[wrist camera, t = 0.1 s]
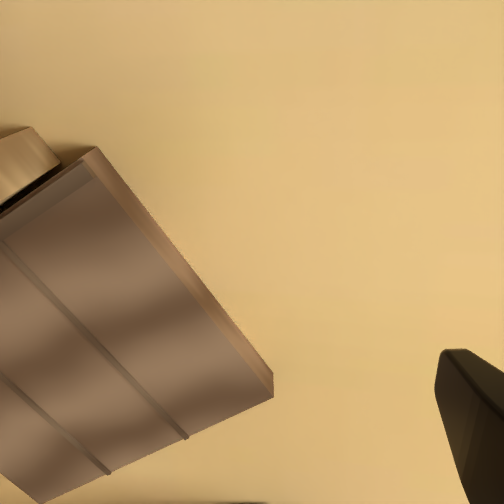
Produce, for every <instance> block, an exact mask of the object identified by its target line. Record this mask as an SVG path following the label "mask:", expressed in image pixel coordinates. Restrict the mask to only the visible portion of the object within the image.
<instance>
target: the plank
mask: <svg viewBox="0 0 504 504" xmlns="http://www.w3.org/2000/svg"><path fill="white" fill-rule="evenodd" d="M60 163H61V162H60V161H59V159H58V158H57V157H56V156H55V155H54V153H53V152H52V151H51V150H50V149H49V147H48V146H47V145H46V144H45V142H44V141H43V140H42V139H41V138H40V136H39V135H38V134H37V133H36V132H35V130H34V129H33V128H32V127H29V128H27V129H24V130H22V131H19V132H17V133H14V134H11V135H9V136H6V137H4V138H1V139H0V206H1V205H2V204H4V203H5V202H6V201H8V200H9V199H11V198H12V197H14V196H15V195H16V194H18V193H19V192H21V191H22V190H23V189H25V188H26V187H28V186H29V185H30V184H32V183H33V182H35V181H36V180H37V179H39V178H40V177H42V176H43V175H44V174H46V173H47V172H49V171H50V170H51V169H53V168H54V167H56V166H57V165H59V164H60Z"/></svg>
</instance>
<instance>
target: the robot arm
mask: <svg viewBox="0 0 504 504" xmlns="http://www.w3.org/2000/svg"><path fill="white" fill-rule="evenodd" d="M434 390H435V397H436V401H437V404H438V408H439V411H440V414H441V418H442V421H443V424H444V428H445V431H446V435H447V438H448V441H449V445H450V448H451V451H452V455H453V458H454V461H455V465H456V468H457V471H458V474H459V477H460V480H461V483H462V486H463V488H464V491H465V493H466V496H467V498H468V501H469V503H470V504H504V372H502V371H501V370H499V369H497V368H496V367H494V366H493V365H491V364H490V363H488V362H487V361H485V360H483V359H482V358H480V357H479V356H477V355H476V354H474V353H473V352H471V351H469V350H467V349H445V350H443V351H442V352H441V354H440V357H439V362H438V368H437V374H436V379H435V387H434Z"/></svg>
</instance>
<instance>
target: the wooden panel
mask: <svg viewBox="0 0 504 504" xmlns="http://www.w3.org/2000/svg"><path fill="white" fill-rule="evenodd" d="M273 397H274V386H273V372H272V371H271V370H270V368H269V367H268V366H267V364H266V363H265V362H264V361H263V359H262V358H261V357H260V355H259V354H258V353H257V352H256V350H255V349H254V348H253V346H252V345H251V344H250V343H249V341H248V340H247V339H246V337H245V336H244V335H243V334H242V332H241V331H240V330H239V328H238V327H237V326H236V325H235V323H234V322H233V321H232V319H231V318H230V317H229V316H228V314H227V313H226V312H225V310H224V309H223V308H222V307H221V305H220V304H219V303H218V301H217V300H216V299H215V298H214V296H213V295H212V294H211V292H210V291H209V290H208V289H207V287H206V286H205V285H204V283H203V282H202V281H201V280H200V278H199V277H198V276H197V274H196V273H195V272H194V271H193V269H192V268H191V267H190V265H189V264H188V263H187V262H186V260H185V259H184V258H183V256H182V255H181V254H180V253H179V251H178V250H177V249H176V247H175V246H174V245H173V244H172V242H171V241H170V240H169V238H168V237H167V236H166V235H165V233H164V232H163V231H162V229H161V228H160V227H159V226H158V224H157V223H156V222H155V220H154V219H153V218H152V217H151V215H150V214H149V213H148V211H147V210H146V209H145V208H144V206H143V205H142V204H141V202H140V201H139V200H138V199H137V197H136V196H135V195H134V193H133V192H132V191H131V190H130V188H129V187H128V186H127V184H126V183H125V182H124V180H123V179H122V178H121V177H120V175H119V174H118V173H117V171H116V170H115V169H114V168H113V166H112V165H111V164H110V162H109V161H108V160H107V159H106V157H105V156H104V155H103V153H102V152H101V151H100V150H99V148H98V147H95V148H94V149H92V150H91V151H89V152H88V153H86V154H85V155H83V156H82V157H80V158H79V159H78V160H76V161H75V162H73V163H72V164H70V165H69V166H68V167H66V168H65V169H63V170H62V171H61V172H59V173H58V174H56V175H55V176H53V177H52V178H51V179H49V180H48V181H46V182H45V183H44V184H42V185H41V186H39V187H38V188H36V189H35V190H34V191H32V192H31V193H29V194H28V195H26V196H25V197H24V198H22V199H21V200H19V201H18V202H17V203H15V204H14V205H12V206H11V207H9V208H8V209H7V210H5V211H4V212H2V213H1V214H0V473H1V474H2V475H3V476H5V477H6V478H7V479H8V480H10V481H11V482H12V483H14V484H15V485H16V486H17V487H19V488H20V489H21V490H22V491H24V492H25V493H26V494H27V495H29V496H30V497H31V498H32V499H34V500H35V501H36V502H37V503H39V504H43V503H45V502H47V501H49V500H52V499H54V498H56V497H58V496H60V495H62V494H65V493H67V492H69V491H71V490H73V489H75V488H78V487H80V486H82V485H84V484H86V483H89V482H91V481H93V480H95V479H97V478H99V477H102V476H104V475H107V476H108V475H110V474H111V472H112V471H115V470H117V469H119V468H121V467H123V466H125V465H128V464H130V463H132V462H134V461H136V460H139V459H141V458H143V457H145V456H147V455H149V454H152V453H154V452H156V451H158V450H160V449H162V448H165V447H167V446H169V445H171V444H173V443H175V442H178V441H180V440H182V439H184V440H186V439H188V438H189V436H191V435H193V434H195V433H197V432H199V431H202V430H204V429H206V428H208V427H210V426H212V425H215V424H217V423H219V422H221V421H223V420H225V419H228V418H230V417H232V416H234V415H236V414H239V413H241V412H243V411H245V410H247V409H249V408H252V407H254V406H256V405H258V404H260V403H262V402H265V401H267V400H269V399H271V398H273Z"/></svg>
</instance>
